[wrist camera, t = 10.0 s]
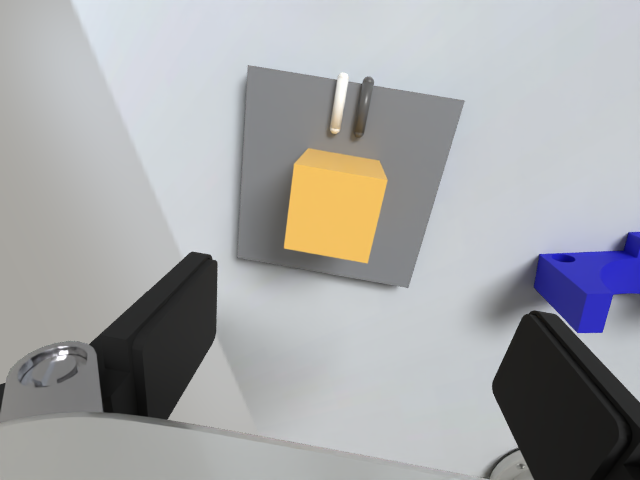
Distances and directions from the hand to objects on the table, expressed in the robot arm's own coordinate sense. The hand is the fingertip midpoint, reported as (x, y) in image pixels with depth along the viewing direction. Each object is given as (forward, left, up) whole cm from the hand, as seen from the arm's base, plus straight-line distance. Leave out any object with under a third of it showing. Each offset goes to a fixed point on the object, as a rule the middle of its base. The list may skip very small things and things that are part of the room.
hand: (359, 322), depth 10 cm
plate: (0, +1, -17) cm, 17 cm away
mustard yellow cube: (0, +1, -15) cm, 15 cm away
